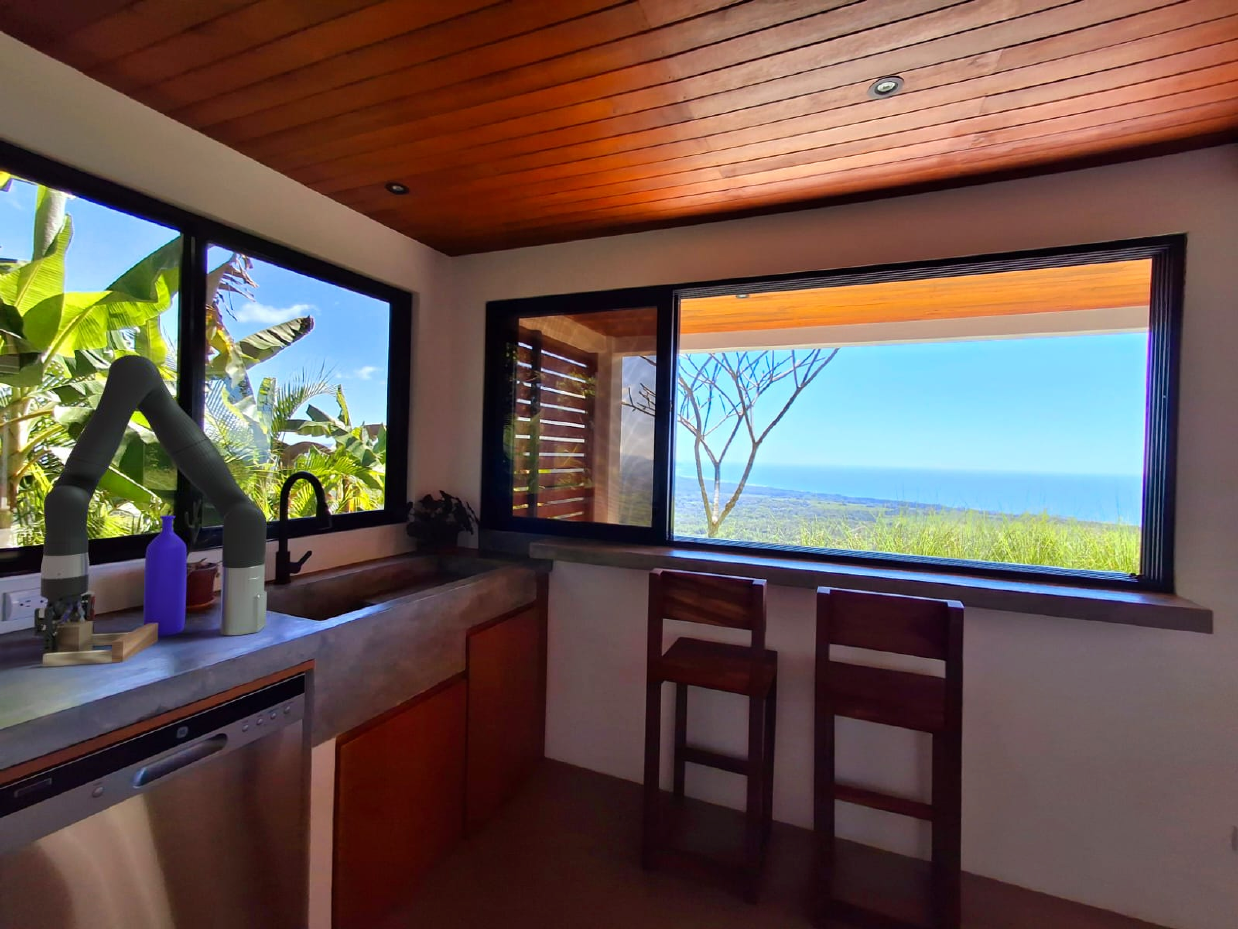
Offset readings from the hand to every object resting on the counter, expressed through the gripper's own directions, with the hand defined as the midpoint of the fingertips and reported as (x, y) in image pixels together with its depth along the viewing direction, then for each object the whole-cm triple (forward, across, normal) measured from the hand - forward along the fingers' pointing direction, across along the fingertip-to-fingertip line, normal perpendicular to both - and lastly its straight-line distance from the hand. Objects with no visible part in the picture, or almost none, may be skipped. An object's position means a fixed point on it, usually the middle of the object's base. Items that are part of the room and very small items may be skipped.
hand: (63, 647), depth 121 cm
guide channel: (+2, 0, -8) cm, 8 cm away
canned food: (+2, +12, +5) cm, 14 cm away
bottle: (+2, +14, -13) cm, 19 cm away
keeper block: (+2, 0, -1) cm, 2 cm away
